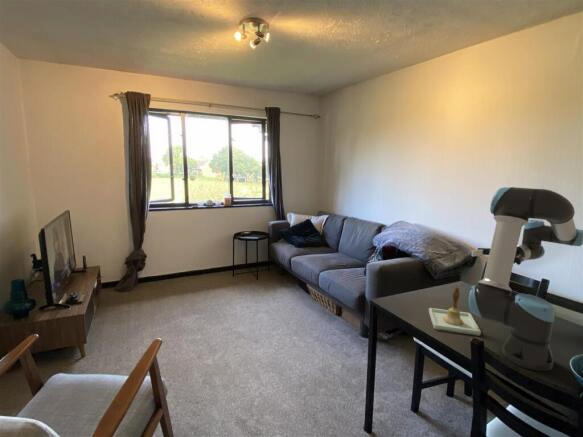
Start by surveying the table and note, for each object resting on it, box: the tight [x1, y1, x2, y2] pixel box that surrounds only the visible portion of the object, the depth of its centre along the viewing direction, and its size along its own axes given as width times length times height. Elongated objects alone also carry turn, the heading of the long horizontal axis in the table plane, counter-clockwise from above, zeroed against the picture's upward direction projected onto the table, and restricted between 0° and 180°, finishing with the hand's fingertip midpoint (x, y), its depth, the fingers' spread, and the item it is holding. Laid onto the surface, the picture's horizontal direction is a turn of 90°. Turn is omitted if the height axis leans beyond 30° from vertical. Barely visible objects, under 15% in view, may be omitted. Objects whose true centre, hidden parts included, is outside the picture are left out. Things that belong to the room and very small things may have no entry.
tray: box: [428, 307, 482, 337], centre depth 145 cm, size 18×18×2 cm
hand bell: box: [443, 287, 463, 325], centre depth 143 cm, size 8×8×16 cm
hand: (485, 257), depth 144 cm, fingers open, 13 cm apart
